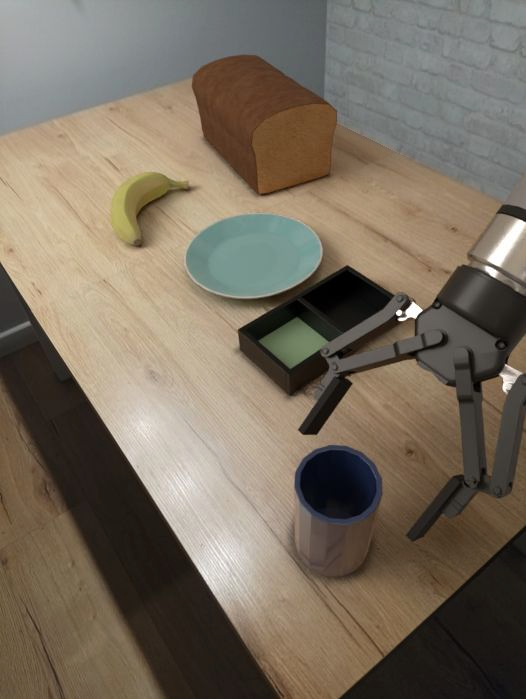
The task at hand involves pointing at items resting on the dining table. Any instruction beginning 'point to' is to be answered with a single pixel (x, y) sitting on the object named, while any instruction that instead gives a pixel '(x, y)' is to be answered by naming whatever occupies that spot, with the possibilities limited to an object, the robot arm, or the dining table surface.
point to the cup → (335, 508)
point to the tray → (310, 327)
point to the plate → (253, 255)
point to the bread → (264, 122)
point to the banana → (137, 202)
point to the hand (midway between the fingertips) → (356, 480)
